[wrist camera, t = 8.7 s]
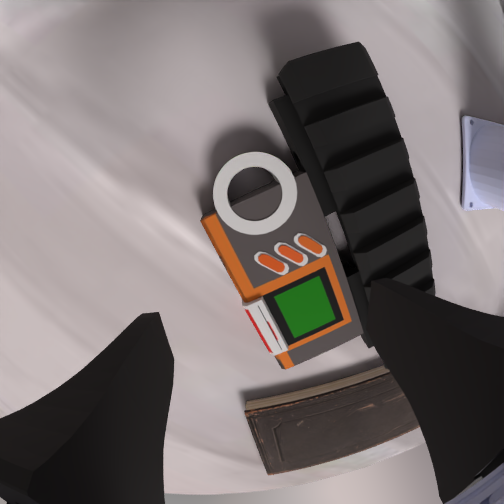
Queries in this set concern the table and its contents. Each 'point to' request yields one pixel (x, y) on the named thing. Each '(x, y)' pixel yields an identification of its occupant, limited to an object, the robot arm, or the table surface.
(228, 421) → the table surface
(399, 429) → the hardcover book
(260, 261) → the electronic device
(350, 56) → the rail mount
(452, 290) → the table surface
